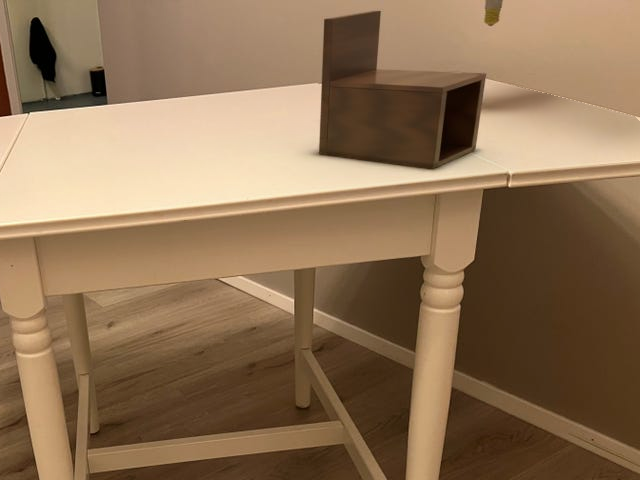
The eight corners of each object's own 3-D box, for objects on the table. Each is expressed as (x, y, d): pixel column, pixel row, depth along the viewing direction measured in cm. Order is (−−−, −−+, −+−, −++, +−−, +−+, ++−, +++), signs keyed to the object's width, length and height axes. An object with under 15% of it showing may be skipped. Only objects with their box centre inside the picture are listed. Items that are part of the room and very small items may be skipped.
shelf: (475, 149, 89) (496, 8, 81) (433, 169, 82) (451, 17, 74) (364, 137, 99) (372, 10, 91) (318, 154, 92) (323, 18, 85)
